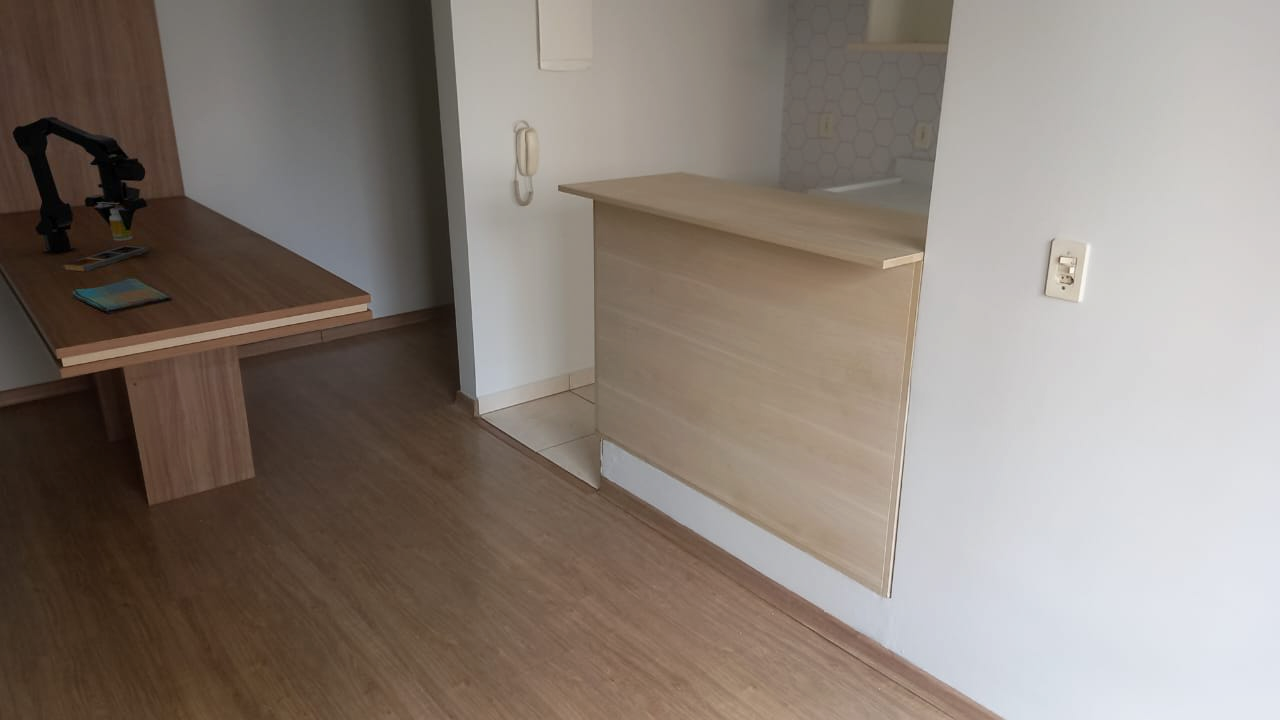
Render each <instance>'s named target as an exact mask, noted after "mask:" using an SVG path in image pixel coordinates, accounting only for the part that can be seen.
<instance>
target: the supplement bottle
mask: <svg viewBox="0 0 1280 720" xmlns="http://www.w3.org/2000/svg"><path fill="white" fill-rule="evenodd" d="M121 209H123V207H122V206H120V207H116V206H115V208H111V209H110V213H111V214H112V215H111V216H110V217H109V220H110V225H111V227H110V228H111V229H110V230H111V234H112V238H113V241H116V242H117V241H118V242H120V241H122V242H123V241H129V240H131V239H133V232H132V228H131V229H130V230H126V228H125V226H124V223H123V221H122V219H121V216H120V214H119V211H118V210H121Z"/></svg>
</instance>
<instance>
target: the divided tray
mask: <svg viewBox="0 0 1280 720" xmlns="http://www.w3.org/2000/svg"><path fill="white" fill-rule="evenodd" d="M124 250H131V251H132V252H130V251H127V252H122V253H118V252H121V251H124ZM144 252H147V253H148V252H149V251H148V248H147V247H143V246H131V245H124V246H119V247H116V248H114V249H109V250H105V251H103V252H100V253H96V254H93V255H90V256H89V255H88V256H85V257H82V258H80V259H76V260H72V261H69V262H66V263H64V264H62V265H61V266H62V269H63V270H67V271H74V270H75V271H77V272H85V273H86V272H89V271H90V272H91V271H93V270H96V269H99V268H98V267H100V268H102V267H101V266H103V267H105V266H104V265H106V264H108V263H112V262H115V261H118V260H121V259H124V258H127V257H130V256H134V255H137V254H140V253H144ZM144 254H145V253H144ZM106 256H112V257H108V258H107V257H106ZM137 256H138V255H137ZM103 257H105V258H103ZM134 257H135V256H134ZM101 258H102V259H101ZM118 262H119V261H118ZM115 263H116V262H115ZM112 264H113V263H112ZM106 266H107V265H106ZM95 268H96V269H95ZM92 269H93V270H92ZM75 271H74V272H75Z"/></svg>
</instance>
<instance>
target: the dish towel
mask: <svg viewBox="0 0 1280 720" xmlns="http://www.w3.org/2000/svg"><path fill="white" fill-rule="evenodd" d="M71 293H72V295H71V296H72V298H74V299H76V300H78V301H81V302H83V303H86V304H88V305H91V306H93V307H94V306H95V307H94V308H96V307H97V308H96V309H98V308H99V309H100V311H101V310H103V311H102V312H104V311H105V312H104V313H106V312H107V313H106V314H108V313H111V314H115V313H114V312H116V313H119V311H120V312H124V311H123V310H125V311H128V310H127V309H129V310H133V309H132V308H134V309H137V308H136V307H138V308H141V307H140V306H143V307H147V306H151V305H150V304H152V305H155V304H161V303H164V302H168V301H169V300H170V301H172V300H173V298H172V297H170V296H169V295H167V294H165V293H163V292H161V291H160V290H158V289H156V288H153V287H151V286H149V285H147V284H145V283H143V282H142V281H140V280H138V279H137V278H128V279H125V280H121V281H118V282H114V283H109V284H105V285H100V286H98V287H94V288H81V289H78V288H77V289H75V290H74V291H72V292H71ZM146 305H147V306H146ZM99 309H98V310H99Z"/></svg>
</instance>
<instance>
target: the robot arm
mask: <svg viewBox="0 0 1280 720" xmlns="http://www.w3.org/2000/svg"><path fill="white" fill-rule="evenodd" d="M52 134H53V135H55V136H57V137H60V138H62V139H64V140H67V141H68V142H70V143H73V144H75V145H78V146H79V147H82V148H83V149H84V150H85V152H86V153H88V154H89V155H91V156H92V157H93V160H92V161H91V162H90V165H91V166H97V170H98V175H99V179H100V183H98V184H97V186H98V189H99V188H100V189H102V193H103V194H95V195H90V196H87V197H85V199H84V205H85V207H87V208H93V210H94V211H96V212H97V213H98V214H99V215H100V217H102V218H103V220H104V221H105V222H106V223H107V224H108V226H109V227H110V228H111V225H110V220H109V217H110V216H111V215H112V214H111V213H110V209H111V208H116V206H120V207H122V208H123V209H121V210H118V211H119V214H120V216H121V219H122V221H123V223H124V226H125V228H126V230H130V229H131V230H132V223H133V218H134V214H135V212H136V211H137V210H140V209H143V208H147V207H148V203H147V200H146V199H145V198H143V197H140V194H141V193H140V192H141V189H140V188H136V187H132V186H131V187H130V186H128V185H127V183H126V181H127V182H128V181H132V182H133V181H134V182H142V181H143V180H144V179H145V177H146V168H145V167H144V165H143V164H142V163H141V162H139V159H138V158H134V157H133V158H130V157H129V156H128V155H127V153H126V152H125V151H124V150H123V148H121V147H120V145H119V144H118V142H117V140H116V139H115V138H113V137H110V136H105V135H102V134H94V133H90V132H88V131H85V130H83V129H81V128H78V127H76V126H73V125H72V124H70V123H67V122H65V121H62V120H60V119H59V118H58V117H55V116H48V117H42V118H40V119H38V120H36V121H34V122H31V123H28V124H25V125H19V126H16V127H15V128H14V129H13V131H12V137H13V139H14V141H15V144H16V145H17V148H19V150H20V151H22V152H23V154H25V156H26V157H27V160H28V163H29V166H30V169H31V172H32V175H33V179H34V182H35V184H36V187H37V191H38V193H39V197H40V200H41V203H40V208H39V215H40V221H39V223H38V224H37V225H36V226H35V232H36V233H37V235H40V236H43V239H44V243H45V247H46V249H44V250H42V253H48V254H61V253H65V252H69V251H72V250H75V246H71V243H70V239H69V236H68V233H67V231H69V230H71V229H72V228H71V227H72V223H73V221H74V218H73V217H74V215H75V214H74V213H73V211H72V206H71V204H70V203H69V202H68V203H65V202H64V201H63V200H62V199H61V197H60V195H59V192H58V189H57V186H56V181H55V179H54V177H53V172H52V170H51V166H50V163H49V160H48V157H47V155H46V151H47V148H48V147H47V146H48V143H49V142H48V139H47V138H48V136H50V135H52Z"/></svg>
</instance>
